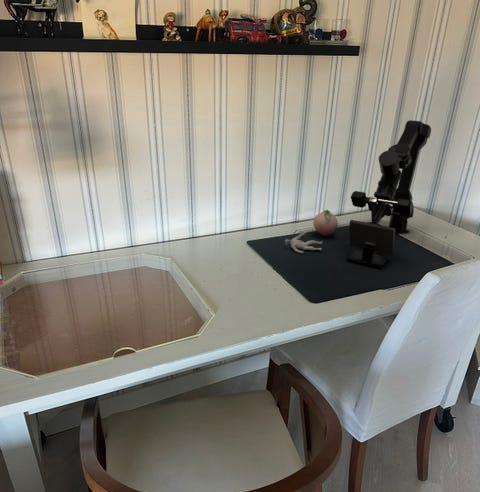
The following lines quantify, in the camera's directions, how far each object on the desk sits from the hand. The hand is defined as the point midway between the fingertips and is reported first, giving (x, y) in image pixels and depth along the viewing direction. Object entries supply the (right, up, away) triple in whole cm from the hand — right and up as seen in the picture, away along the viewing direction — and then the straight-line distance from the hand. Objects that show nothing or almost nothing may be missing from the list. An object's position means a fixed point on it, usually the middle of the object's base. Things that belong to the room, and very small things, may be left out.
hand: (372, 226), depth 153 cm
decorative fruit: (-11, -1, +25) cm, 28 cm away
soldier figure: (-20, -7, +13) cm, 25 cm away
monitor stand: (0, -11, +5) cm, 12 cm away
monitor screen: (+1, -7, +5) cm, 9 cm away
